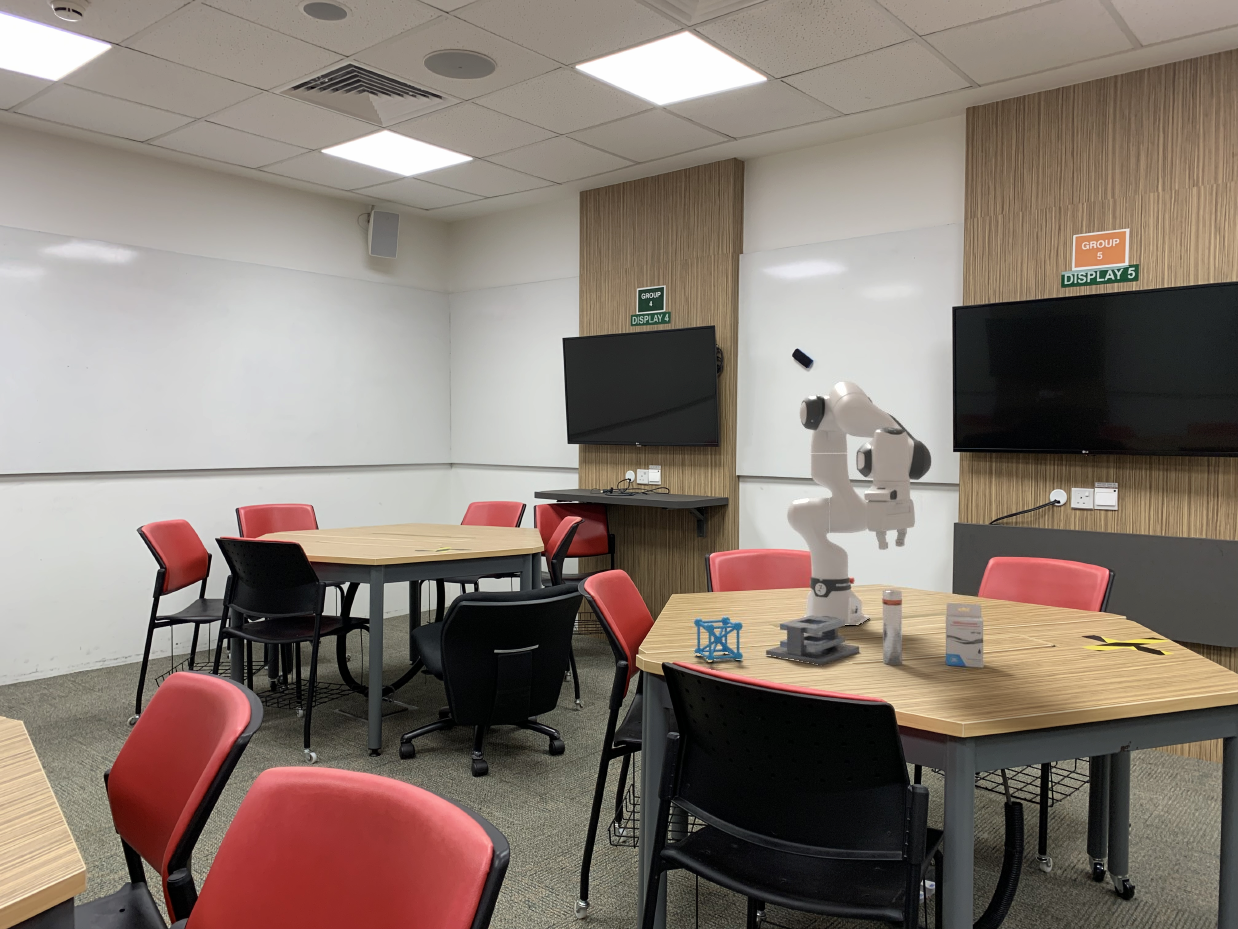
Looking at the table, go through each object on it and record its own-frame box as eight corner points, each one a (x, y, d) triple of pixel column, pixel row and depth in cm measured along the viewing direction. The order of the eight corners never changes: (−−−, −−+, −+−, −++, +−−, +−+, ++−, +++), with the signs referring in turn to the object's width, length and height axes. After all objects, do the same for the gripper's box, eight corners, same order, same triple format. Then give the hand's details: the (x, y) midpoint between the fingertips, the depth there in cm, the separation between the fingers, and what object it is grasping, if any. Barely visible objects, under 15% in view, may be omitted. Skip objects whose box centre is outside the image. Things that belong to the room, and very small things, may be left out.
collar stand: (805, 643, 237) (805, 613, 237) (859, 652, 226) (859, 620, 226) (766, 656, 223) (765, 623, 222) (821, 665, 212) (821, 631, 212)
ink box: (946, 665, 211) (945, 605, 211) (945, 661, 216) (945, 602, 216) (983, 668, 208) (983, 607, 208) (982, 663, 213) (982, 604, 213)
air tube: (887, 660, 217) (887, 589, 217) (905, 663, 214) (905, 590, 214) (879, 663, 214) (879, 591, 214) (897, 666, 211) (897, 593, 211)
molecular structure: (744, 661, 217) (744, 622, 217) (707, 664, 214) (707, 624, 214) (728, 653, 227) (727, 615, 227) (692, 655, 224) (692, 617, 224)
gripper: (897, 491, 224) (897, 544, 224) (860, 493, 209) (861, 550, 209) (921, 491, 219) (921, 545, 219) (885, 494, 204) (885, 552, 204)
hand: (891, 548), depth 214 cm, fingers open, 8 cm apart
